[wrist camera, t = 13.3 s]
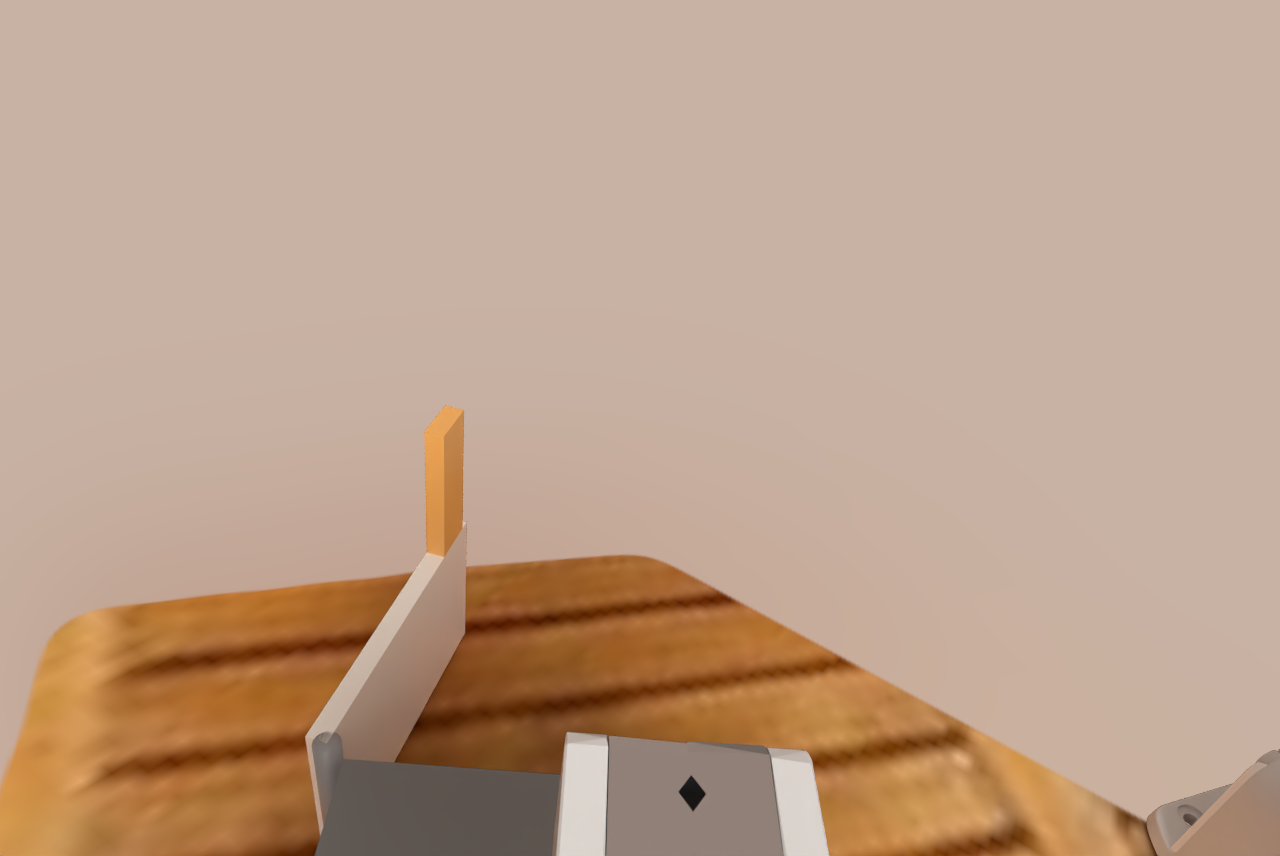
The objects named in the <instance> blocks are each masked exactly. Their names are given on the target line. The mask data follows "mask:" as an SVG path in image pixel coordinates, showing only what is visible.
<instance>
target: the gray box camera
mask: <svg viewBox="0 0 1280 856" xmlns="http://www.w3.org/2000/svg"><path fill="white" fill-rule="evenodd" d="M559 783H560V775H559V774H545V773H532V772H518V771H504V770H491V769H477V768H463V767H449V766H436V765H422V764H408V763H395V762H381V761H367V760H354V759H344V760H343V764H342V767H341V770H340V773H339V777H338V780H337V783H336V787H335V790H334V793H333V796H332V800H331V803H330V806H329V810H328V813H327V816H326V819H325V823H324V826H323V829H322V833H321V836H320V839H319V842H318V846H317V849H316V852H315V856H552V852H553V840H554V827H555V818H556V809H557V800H558V791H559Z"/></svg>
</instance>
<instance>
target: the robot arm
mask: <svg viewBox="0 0 1280 856" xmlns="http://www.w3.org/2000/svg"><path fill="white" fill-rule="evenodd" d="M1186 822H1187V823H1189V824H1190V825H1191V826H1189V825H1188V824H1187V823H1186ZM1147 829H1148V833H1149V836H1150V839H1151V841H1152V844H1153V846H1154V848H1155V851H1156V853H1157V855H1158V856H1280V749H1279V750H1278V751H1276V750H1273V751H1270V752H1268V753H1266V754H1265V755H1263V756H1262V757H1261V758H1259V759H1258V760H1257V762H1256V763H1255V764H1254V765H1252V766H1251V767H1250V768H1248V769H1247V770H1246V771H1245V772H1244V773H1243V774H1242V775H1241V776H1240V777H1239V778H1238V779H1237V780H1236V781H1235V782H1234V783H1233V784H1230V785H1226V786H1223V787H1220V788H1217V789H1214V790H1210V791H1207V792H1204V793H1200V794H1197V795H1194V796H1191V797H1188V798H1184V799H1181V800H1178V801H1175V802H1171V803H1168V804H1165V805H1162V806H1160V807H1158V808H1157V809H1156V810H1155V811H1154V812H1153V813H1152V814H1150V815H1149V816H1148V818H1147ZM552 856H829V851H828V846H827V840H826V835H825V829H824V824H823V818H822V813H821V807H820V802H819V796H818V791H817V785H816V780H815V774H814V769H813V763H812V759H811V757H810V756H809V754H808V752H807V751H805V750H803V749H786V748H768V747H764V746H758V745H741V744H724V743H707V742H690V741H687V742H686V743H685V742H676V741H665V740H654V739H642V738H631V737H620V736H607V735H602V734H589V733H575V732H567V733H566V736H565V744H564V752H563V759H562V767H561V775H560V783H559V791H558V800H557V809H556V818H555V827H554V840H553V852H552Z"/></svg>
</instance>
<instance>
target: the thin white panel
mask: <svg viewBox="0 0 1280 856" xmlns="http://www.w3.org/2000/svg"><path fill="white" fill-rule="evenodd" d="M463 427H464V410H461V409H457V408H453V407H449V406H444V408H443V409H442V410H441V412H440V413H439V414H438V415H437V417H436V418H435V419H434V420H433V421H432V423H431V424H430V425H429V427H428V428H427V429H426V430H425V432H424V433H425V484H426V535H427V553H426V554H425V556H424V557H423V559H422V560H421V562H420V564H419V565H418V566H417V568H416V570H415V571H414V573H413V574H412V576H411V577H410V579H409V580H408V582H407V583H406V585H405V586H404V588H403V589H402V591H401V592H400V594H399V595H398V597H397V598H396V600H395V601H394V603H393V604H392V606H391V607H390V609H389V610H388V612H387V613H386V615H385V616H384V618H383V619H382V621H381V622H380V624H379V626H378V627H377V629H376V630H375V632H374V633H373V635H372V636H371V638H370V639H369V641H368V642H367V644H366V645H365V647H364V648H363V650H362V651H361V653H360V654H359V656H358V657H357V659H356V660H355V662H354V663H353V665H352V666H351V668H350V669H349V671H348V672H347V674H346V676H345V677H344V679H343V680H342V682H341V683H340V685H339V686H338V688H337V689H336V691H335V692H334V694H333V695H332V697H331V698H330V700H329V701H328V703H327V704H326V706H325V707H324V709H323V710H322V712H321V713H320V715H319V716H318V718H317V719H316V721H315V722H314V724H313V726H312V727H311V729H310V730H309V732H308V733H307V735H306V736H305V740H306V746H307V753H308V759H309V766H310V773H311V779H312V786H313V792H314V799H315V805H316V812H317V818H318V825H319V832H320V836H321V833H322V829H323V826H324V823H325V819H326V816H327V813H328V810H329V806H330V803H331V800H332V796H333V793H334V790H335V787H336V783H337V780H338V777H339V773H340V770H341V767H342V764H343V760H344V759H354V760H367V761H381V762H395V760H396V758H397V756H398V754H399V753H400V751H401V749H402V747H403V745H404V743H405V742H406V740H407V738H408V736H409V734H410V733H411V731H412V729H413V727H414V725H415V723H416V722H417V720H418V718H419V716H420V714H421V712H422V711H423V709H424V707H425V705H426V703H427V701H428V700H429V698H430V696H431V694H432V692H433V690H434V689H435V687H436V685H437V683H438V681H439V680H440V678H441V676H442V674H443V672H444V670H445V669H446V667H447V665H448V663H449V661H450V659H451V658H452V656H453V654H454V652H455V650H456V648H457V647H458V645H459V643H460V641H461V639H462V637H463V636H464V634H465V600H466V536H467V535H466V533H467V522H466V521H463V437H464V436H463V435H464V430H463V429H464V428H463Z"/></svg>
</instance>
